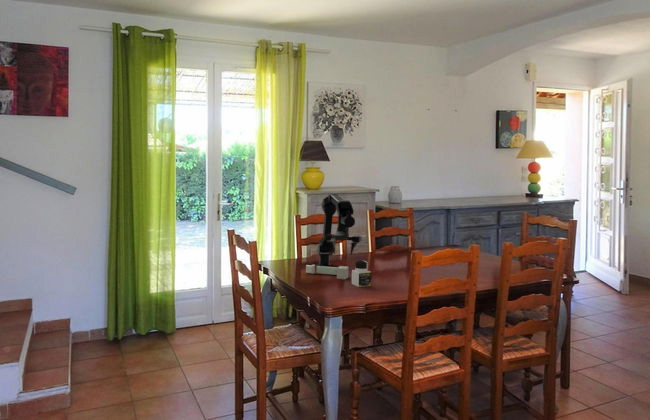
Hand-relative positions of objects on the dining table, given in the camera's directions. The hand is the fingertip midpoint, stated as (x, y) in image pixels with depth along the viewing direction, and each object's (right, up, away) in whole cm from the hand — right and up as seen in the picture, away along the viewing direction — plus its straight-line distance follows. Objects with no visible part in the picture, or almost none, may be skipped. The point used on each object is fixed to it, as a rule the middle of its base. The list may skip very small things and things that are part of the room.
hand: (342, 254), depth 280 cm
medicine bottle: (+9, -14, -14) cm, 22 cm away
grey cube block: (0, -12, +1) cm, 13 cm away
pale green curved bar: (-8, -11, +8) cm, 16 cm away
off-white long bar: (-9, -11, +9) cm, 17 cm away
